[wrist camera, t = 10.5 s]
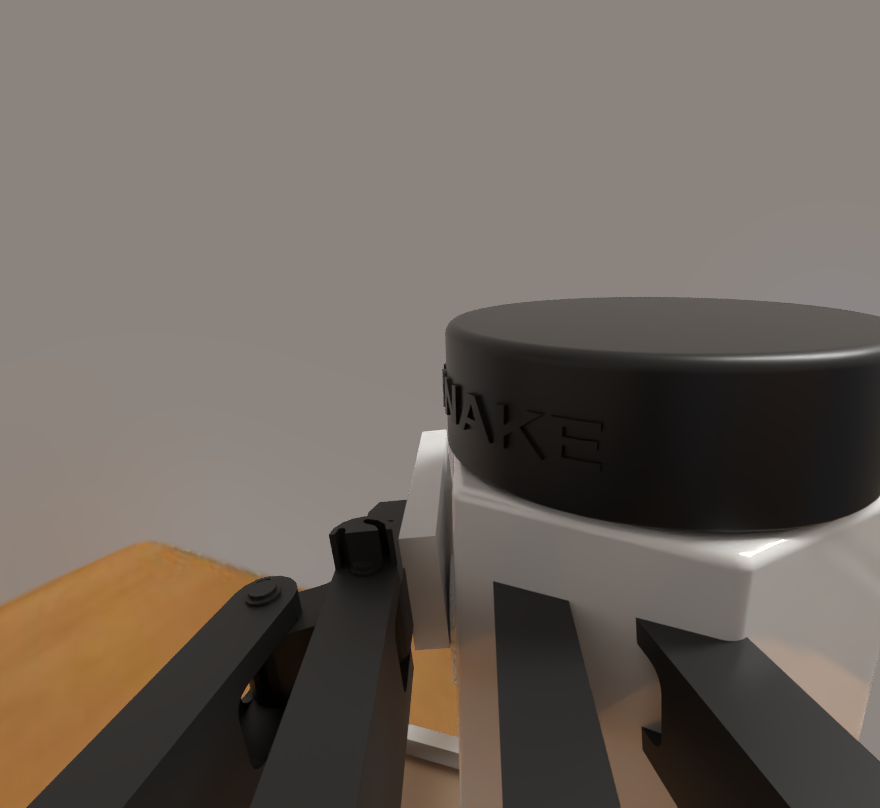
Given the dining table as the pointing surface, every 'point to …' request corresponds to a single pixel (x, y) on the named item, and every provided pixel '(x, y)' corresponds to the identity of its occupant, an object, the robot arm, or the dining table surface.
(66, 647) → the dining table surface
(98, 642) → the dining table surface
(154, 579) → the dining table surface
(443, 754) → the tray
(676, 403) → the jar
